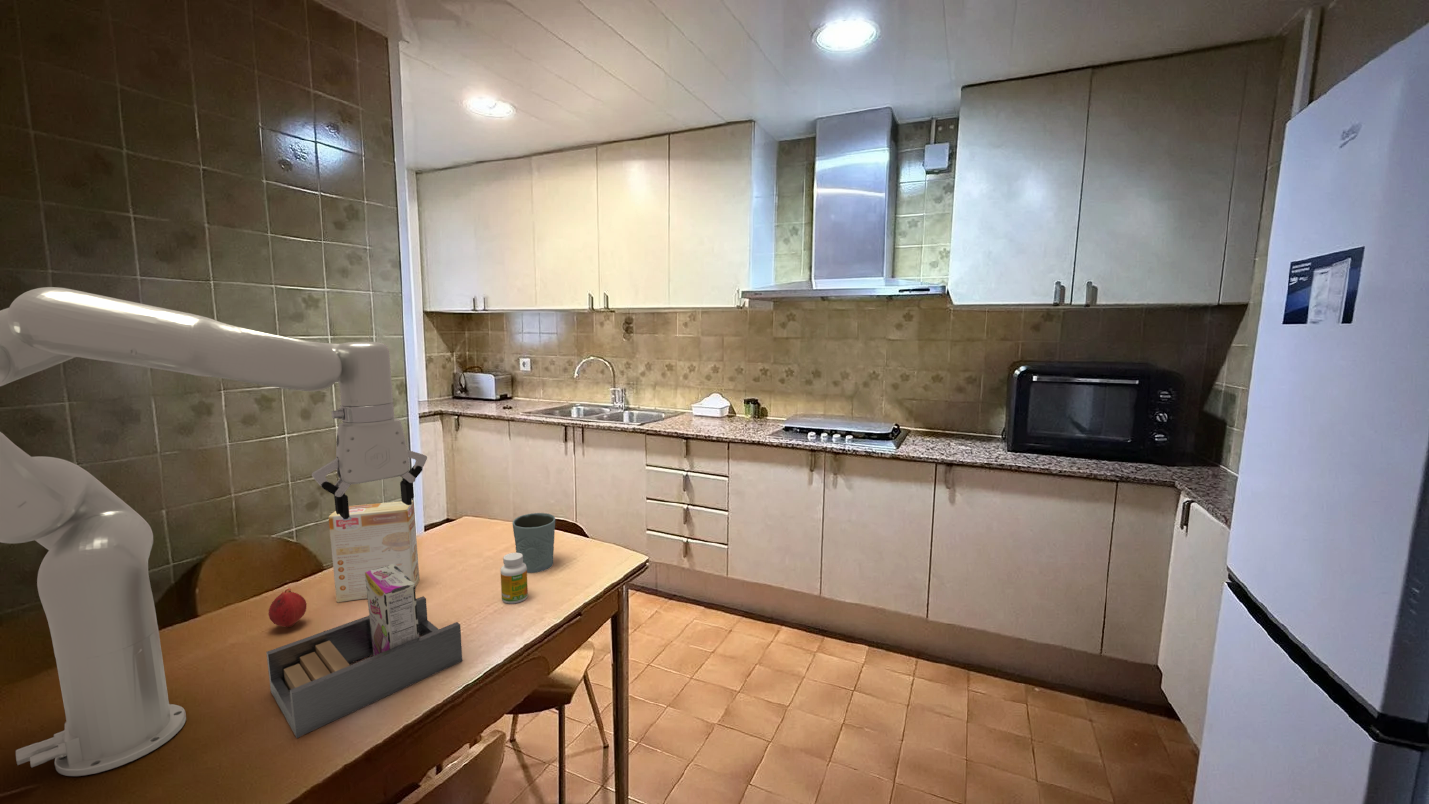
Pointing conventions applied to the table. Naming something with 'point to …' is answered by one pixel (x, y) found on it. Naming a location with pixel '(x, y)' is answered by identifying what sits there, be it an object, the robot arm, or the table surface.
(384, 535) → the coffeecake box
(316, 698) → the rack
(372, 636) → the candy bar box
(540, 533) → the grey green cup
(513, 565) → the supplement bottle
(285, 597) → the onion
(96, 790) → the table surface
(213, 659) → the table surface
